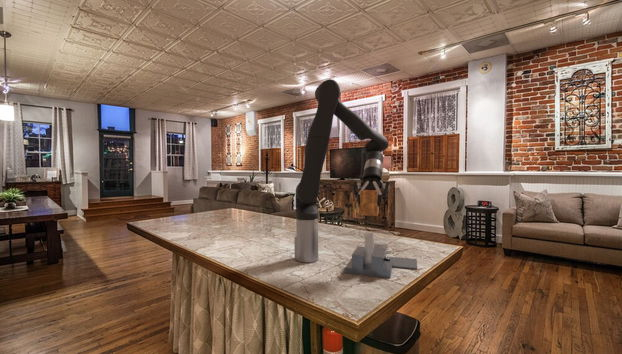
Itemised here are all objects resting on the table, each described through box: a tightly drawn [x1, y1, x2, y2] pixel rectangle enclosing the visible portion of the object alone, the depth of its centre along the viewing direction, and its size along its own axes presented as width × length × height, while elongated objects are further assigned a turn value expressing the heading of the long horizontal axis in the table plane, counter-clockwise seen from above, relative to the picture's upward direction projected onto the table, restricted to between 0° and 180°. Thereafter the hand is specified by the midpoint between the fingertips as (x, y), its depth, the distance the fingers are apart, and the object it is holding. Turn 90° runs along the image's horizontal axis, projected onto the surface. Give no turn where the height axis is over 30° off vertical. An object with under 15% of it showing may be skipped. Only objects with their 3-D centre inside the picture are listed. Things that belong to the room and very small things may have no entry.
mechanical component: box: [374, 240, 393, 255], centre depth 134 cm, size 10×4×10 cm
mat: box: [386, 255, 418, 271], centre depth 116 cm, size 12×12×1 cm
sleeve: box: [359, 189, 380, 217], centre depth 108 cm, size 6×6×9 cm
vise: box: [344, 231, 394, 279], centre depth 109 cm, size 16×12×14 cm
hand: (369, 204), depth 107 cm, fingers closed on sleeve, 6 cm apart
